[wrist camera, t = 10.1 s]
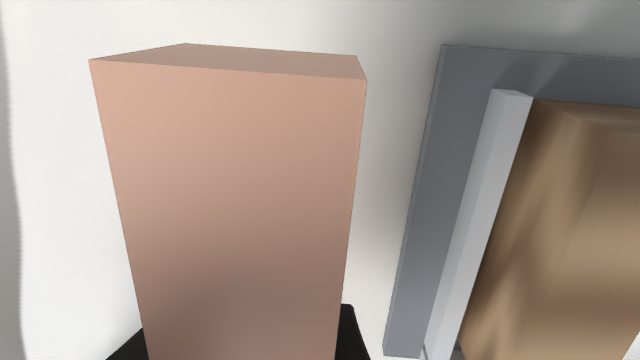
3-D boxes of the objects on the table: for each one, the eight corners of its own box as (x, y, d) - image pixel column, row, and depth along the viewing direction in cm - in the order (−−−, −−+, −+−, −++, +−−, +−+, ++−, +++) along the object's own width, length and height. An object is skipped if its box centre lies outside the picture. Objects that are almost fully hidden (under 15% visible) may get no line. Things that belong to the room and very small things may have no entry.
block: (316, 428, 16) (309, 571, 12) (228, 420, 16) (190, 560, 12) (354, 51, 9) (367, 80, 5) (200, 40, 9) (88, 59, 5)
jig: (571, 360, 22) (595, 396, 20) (382, 344, 22) (386, 378, 20) (729, 65, 15) (793, 74, 13) (441, 45, 15) (458, 49, 13)
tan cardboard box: (524, 341, 21) (576, 432, 16) (456, 335, 21) (489, 424, 16) (627, 105, 15) (755, 144, 10) (531, 98, 15) (617, 134, 10)
